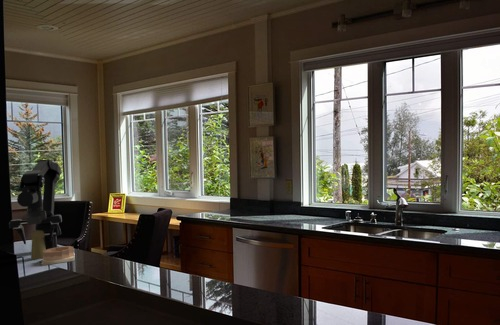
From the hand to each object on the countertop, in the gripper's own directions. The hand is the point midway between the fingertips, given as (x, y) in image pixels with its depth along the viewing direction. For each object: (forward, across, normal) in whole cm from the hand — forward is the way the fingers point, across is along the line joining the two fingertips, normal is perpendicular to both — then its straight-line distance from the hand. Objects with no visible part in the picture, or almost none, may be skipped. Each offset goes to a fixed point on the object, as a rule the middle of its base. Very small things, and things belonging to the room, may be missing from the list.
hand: (38, 242), depth 172 cm
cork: (+6, 0, 0) cm, 6 cm away
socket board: (+6, +8, -11) cm, 15 cm away
